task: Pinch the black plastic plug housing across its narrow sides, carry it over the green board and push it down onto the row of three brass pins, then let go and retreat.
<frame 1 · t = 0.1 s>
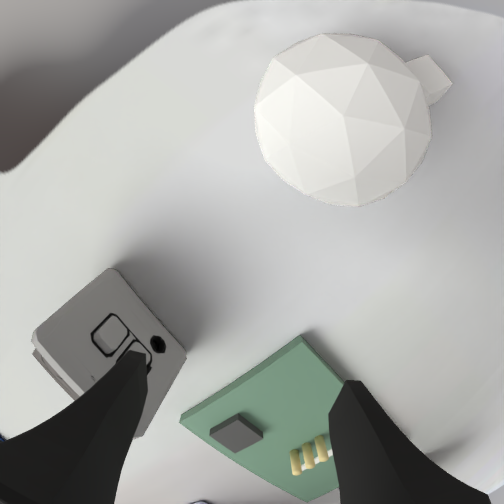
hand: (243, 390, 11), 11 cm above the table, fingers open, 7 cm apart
pcb: (304, 437, 24), on the table
electrical switch: (132, 327, 22), on the table
perfume bottle: (344, 127, 19), on the table
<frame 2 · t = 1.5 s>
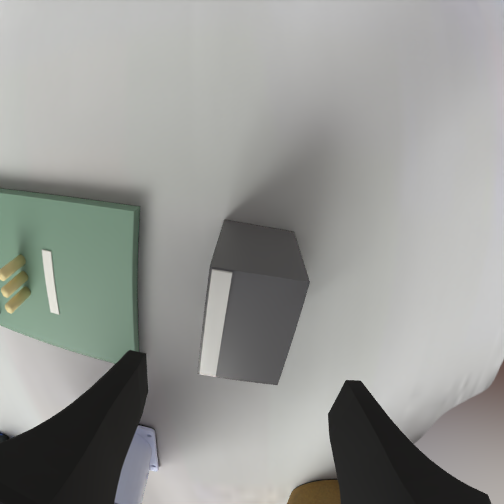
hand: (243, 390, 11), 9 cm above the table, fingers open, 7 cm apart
pcb: (31, 269, 20), on the table
plant pot: (317, 489, 32), on the table
plug: (250, 272, 19), on the table
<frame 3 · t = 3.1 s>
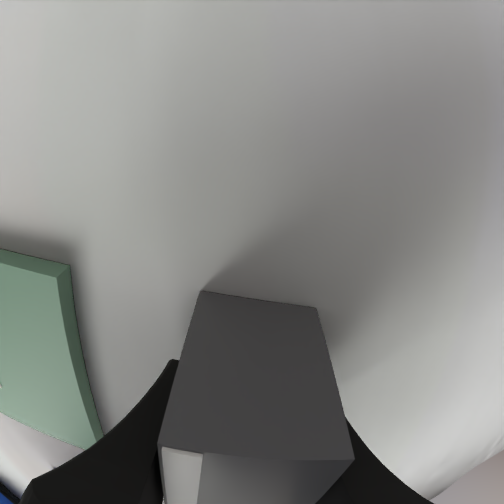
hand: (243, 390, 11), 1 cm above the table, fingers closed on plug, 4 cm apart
plug: (244, 364, 12), on the table, touching gripper
handheld game console: (4, 487, 28), on the table
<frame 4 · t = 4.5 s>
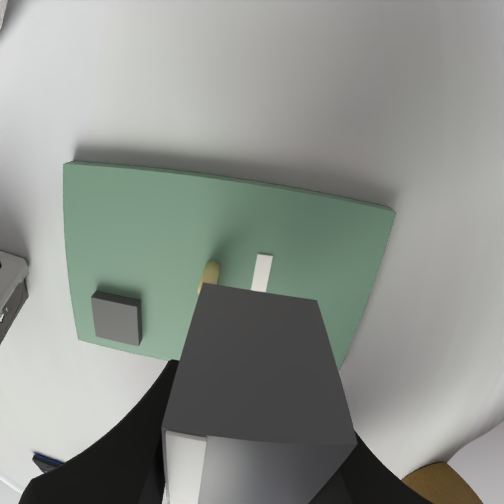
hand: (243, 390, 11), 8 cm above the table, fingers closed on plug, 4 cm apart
pcb: (212, 280, 18), on the table
electrical switch: (0, 273, 19), on the table
plant pot: (421, 475, 31), on the table
plug: (246, 356, 12), point 7 cm above the table, touching gripper
handheld game console: (87, 484, 34), on the table
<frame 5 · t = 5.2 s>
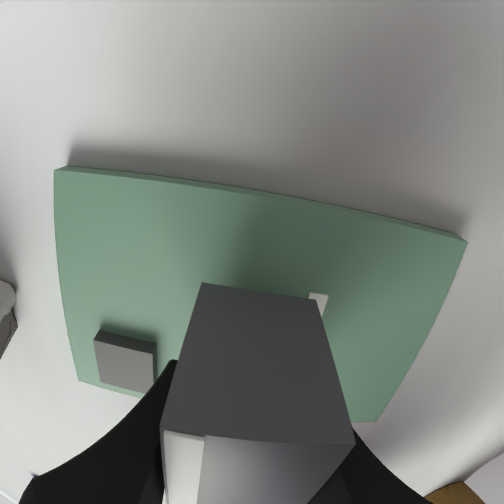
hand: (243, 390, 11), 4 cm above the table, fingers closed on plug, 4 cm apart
pcb: (246, 320, 15), on the table
plant pot: (437, 494, 27), on the table
plug: (245, 356, 12), point 3 cm above the table, touching gripper
when the fingers open (3 cm above the table, at t = 5.9 s): plug stays where it is, resting on pcb.
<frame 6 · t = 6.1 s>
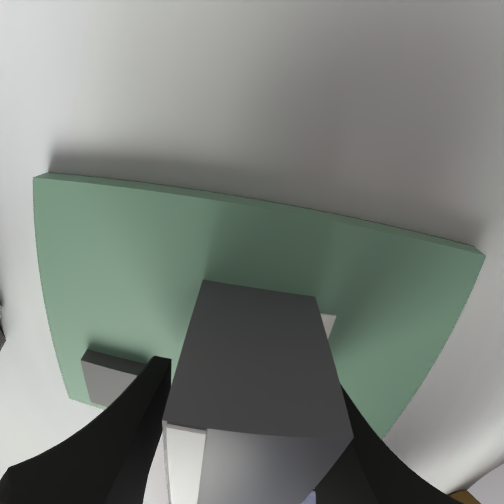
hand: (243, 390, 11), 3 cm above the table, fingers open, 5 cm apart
pcb: (246, 340, 13), on the table
plant pot: (440, 502, 26), on the table
plug: (246, 352, 12), point 1 cm above the table, touching pcb
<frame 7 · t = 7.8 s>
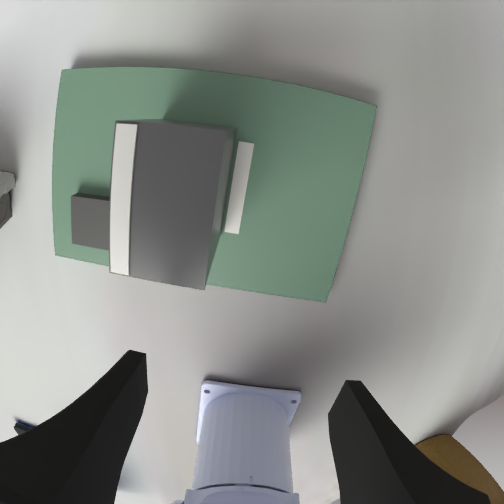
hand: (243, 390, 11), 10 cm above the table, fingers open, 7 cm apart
pcb: (194, 177, 18), on the table
plant pot: (424, 450, 30), on the table
plug: (191, 178, 17), point 1 cm above the table, touching pcb
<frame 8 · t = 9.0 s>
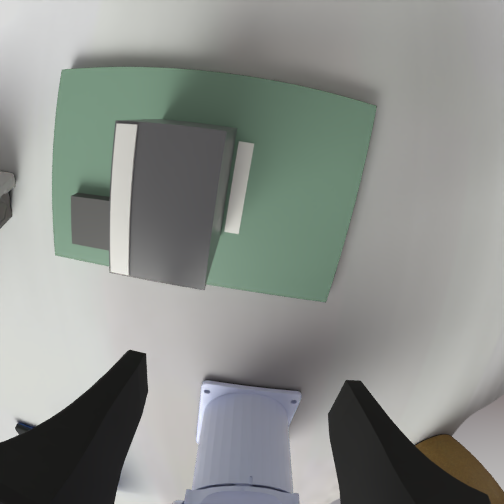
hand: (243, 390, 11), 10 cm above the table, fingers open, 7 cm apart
pcb: (194, 177, 18), on the table
plant pot: (424, 450, 30), on the table
plug: (191, 178, 17), point 1 cm above the table, touching pcb
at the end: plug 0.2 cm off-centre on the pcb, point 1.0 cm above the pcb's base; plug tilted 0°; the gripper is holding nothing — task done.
